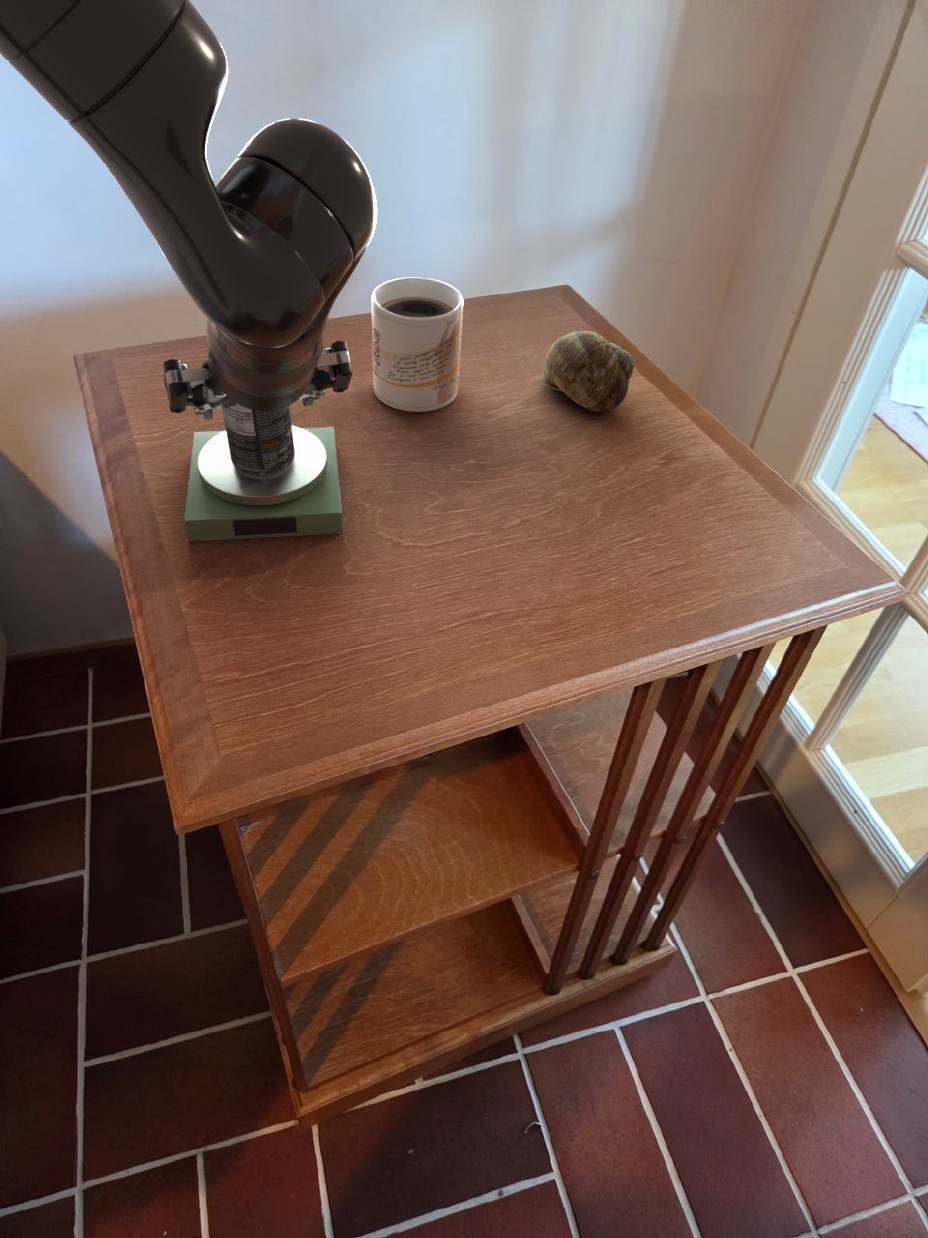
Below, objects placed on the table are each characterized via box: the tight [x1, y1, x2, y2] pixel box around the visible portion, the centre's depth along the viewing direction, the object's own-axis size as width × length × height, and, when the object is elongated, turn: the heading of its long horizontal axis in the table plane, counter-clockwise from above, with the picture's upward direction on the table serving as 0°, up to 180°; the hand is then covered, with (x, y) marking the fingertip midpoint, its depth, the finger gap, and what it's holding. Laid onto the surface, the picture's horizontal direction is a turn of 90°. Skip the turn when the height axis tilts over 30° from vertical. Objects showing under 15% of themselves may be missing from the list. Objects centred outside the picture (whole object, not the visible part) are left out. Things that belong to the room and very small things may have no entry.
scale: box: [183, 425, 344, 543], centre depth 80 cm, size 14×14×4 cm
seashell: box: [540, 330, 636, 412], centre depth 94 cm, size 11×9×8 cm
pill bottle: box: [221, 404, 295, 475], centre depth 75 cm, size 6×6×11 cm
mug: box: [371, 277, 464, 413], centre depth 93 cm, size 10×12×11 cm
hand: (256, 400), depth 72 cm, fingers open, 8 cm apart
